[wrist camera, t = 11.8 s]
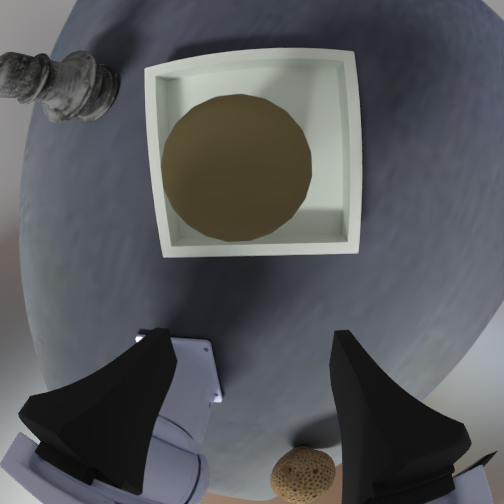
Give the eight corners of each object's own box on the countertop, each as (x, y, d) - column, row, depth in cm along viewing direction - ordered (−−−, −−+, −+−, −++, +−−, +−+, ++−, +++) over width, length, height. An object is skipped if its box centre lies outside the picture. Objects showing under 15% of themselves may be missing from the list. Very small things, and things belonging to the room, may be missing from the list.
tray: (349, 241, 20) (358, 253, 17) (174, 245, 21) (163, 257, 19) (345, 61, 15) (353, 51, 12) (158, 75, 16) (144, 68, 14)
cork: (307, 191, 18) (346, 250, 8) (223, 208, 19) (165, 281, 9) (289, 107, 16) (307, 53, 6) (203, 127, 17) (115, 109, 7)
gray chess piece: (125, 108, 17) (1, 85, 6) (72, 136, 18) (-42, 142, 6) (118, 50, 15) (16, 2, 4) (67, 80, 16) (-35, 63, 5)
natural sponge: (278, 430, 30) (275, 495, 20) (341, 431, 29) (349, 492, 20) (268, 455, 33) (264, 508, 24) (322, 456, 33) (325, 507, 24)
